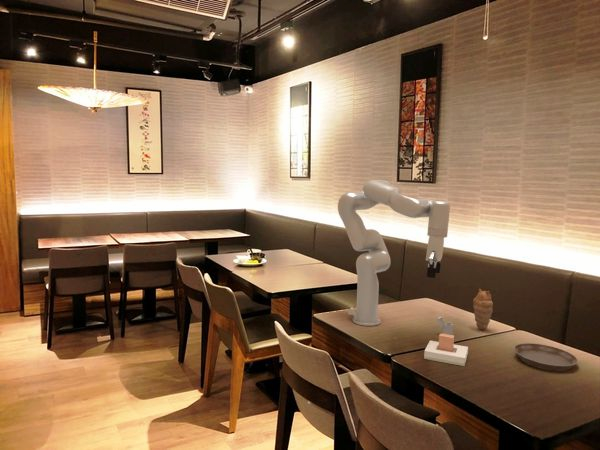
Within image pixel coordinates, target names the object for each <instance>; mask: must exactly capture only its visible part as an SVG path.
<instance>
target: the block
mask: <svg viewBox="0 0 600 450" xmlns="http://www.w3.org/2000/svg"><path fill="white" fill-rule="evenodd" d="M438 342H439V345H438V350H442V351H448V352H453V347H454V345H455V335H454V334H453V335H448V334H442V333H439V334H438Z"/></svg>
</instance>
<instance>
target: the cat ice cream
mask: <svg viewBox="0 0 600 450" xmlns="http://www.w3.org/2000/svg"><path fill="white" fill-rule="evenodd" d="M472 305H473V310H474V311H473V314H474V321H475V322H476V327H477V329H479V330H481V331H485V330H487V329H488V328H489V325H490V321H491V319H492V314H493V307H494V303H493V301H492V294H491V293H490V291H489V290H488V291H487V290H482V289H481V288H479V289H478V293H477V295H476V297H474V298H473V304H472Z"/></svg>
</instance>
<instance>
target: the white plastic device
mask: <svg viewBox="0 0 600 450" xmlns="http://www.w3.org/2000/svg"><path fill="white" fill-rule="evenodd" d="M436 319H437V321H438V325H439V326H440V327H442V331H441V332H442V334H448V335H454V324H453V323H452V322H451V321H446V322H444V320H443V317H442V316H441V315H439V316H437V317H436Z"/></svg>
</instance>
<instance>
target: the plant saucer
mask: <svg viewBox="0 0 600 450" xmlns="http://www.w3.org/2000/svg"><path fill="white" fill-rule="evenodd" d="M513 350H514V352H515V354H516V356H518V358H519V359H520V360H521V361H522V362H524V363H525V364H527V365H529V366H532V367H535V368H536V369H537V368H538V369H542V370H546V371H552V372H553V371H554V372H555V371H556V372H562V371H567V370H570V369H572V368H573V367H575V366H576V365H577V364H578V362H579V361H578V360H579V359H578V358H577V357H576V356H575V355H574V354H573V353H570V352H568V351H566V350H564V349H561V348H558V347H554V346H550V345H546V344H540V343H529V342H527V343H526V342H524V343H520V344H515V346H514V347H513Z"/></svg>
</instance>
